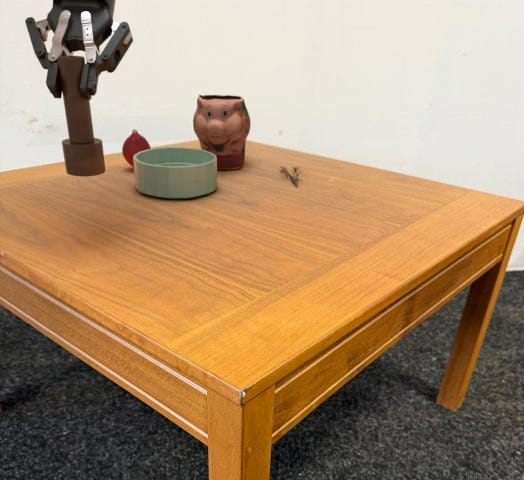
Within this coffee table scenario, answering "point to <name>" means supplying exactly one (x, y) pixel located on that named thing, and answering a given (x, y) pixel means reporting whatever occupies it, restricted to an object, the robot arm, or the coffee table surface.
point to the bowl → (175, 172)
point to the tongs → (290, 174)
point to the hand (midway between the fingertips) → (70, 94)
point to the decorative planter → (222, 128)
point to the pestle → (78, 123)
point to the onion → (134, 146)
